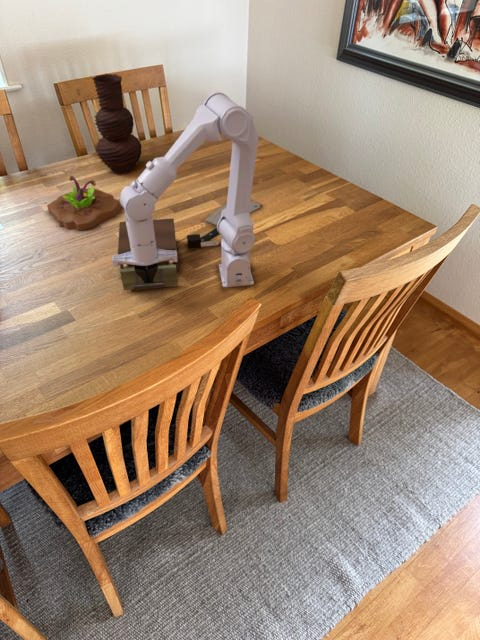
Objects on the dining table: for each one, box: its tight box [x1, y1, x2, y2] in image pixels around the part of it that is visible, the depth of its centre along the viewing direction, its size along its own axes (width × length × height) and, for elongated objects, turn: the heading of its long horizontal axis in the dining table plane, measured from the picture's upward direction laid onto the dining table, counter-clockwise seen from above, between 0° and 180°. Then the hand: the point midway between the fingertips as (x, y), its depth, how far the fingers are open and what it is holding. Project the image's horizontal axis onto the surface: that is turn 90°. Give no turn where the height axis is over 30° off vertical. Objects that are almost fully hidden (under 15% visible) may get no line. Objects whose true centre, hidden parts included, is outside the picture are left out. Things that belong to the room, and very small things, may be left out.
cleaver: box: [200, 200, 261, 242], centre depth 141 cm, size 29×1×10 cm
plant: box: [46, 175, 121, 231], centre depth 140 cm, size 20×20×11 cm
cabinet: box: [117, 217, 180, 273], centre depth 124 cm, size 15×15×8 cm
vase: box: [91, 73, 142, 175], centre depth 155 cm, size 15×15×30 cm
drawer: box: [119, 261, 179, 291], centre depth 116 cm, size 19×13×6 cm
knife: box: [186, 233, 220, 250], centre depth 129 cm, size 9×2×3 cm, turn 99°
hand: (149, 286), depth 111 cm, fingers closed, pressing on drawer
